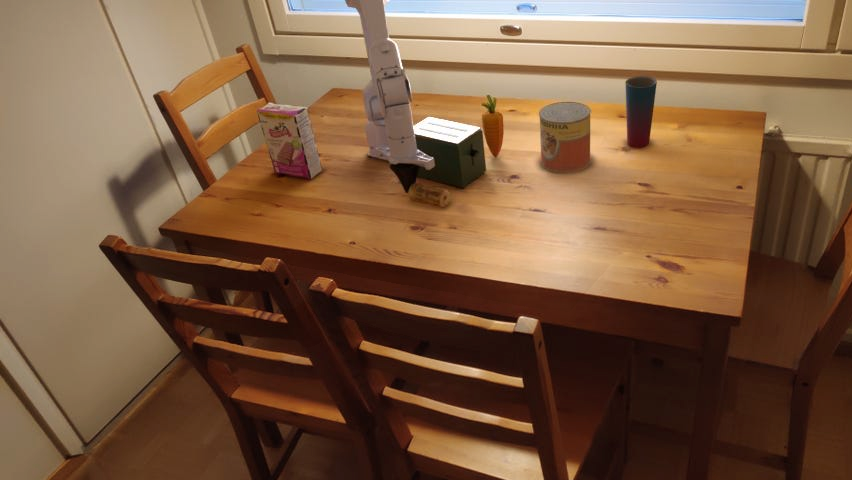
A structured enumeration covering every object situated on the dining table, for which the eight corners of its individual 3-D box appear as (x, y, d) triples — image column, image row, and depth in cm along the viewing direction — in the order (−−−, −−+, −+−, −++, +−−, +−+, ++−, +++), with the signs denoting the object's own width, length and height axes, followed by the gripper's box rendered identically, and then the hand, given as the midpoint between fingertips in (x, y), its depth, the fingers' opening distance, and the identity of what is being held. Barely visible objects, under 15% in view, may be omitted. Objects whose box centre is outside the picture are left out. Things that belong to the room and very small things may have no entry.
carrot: (504, 161, 160) (499, 100, 151) (483, 161, 161) (477, 100, 152) (507, 152, 164) (503, 91, 155) (487, 152, 165) (481, 92, 156)
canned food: (530, 161, 158) (528, 112, 152) (566, 145, 164) (565, 97, 157) (564, 177, 151) (563, 126, 144) (600, 160, 156) (601, 110, 149)
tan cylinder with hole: (451, 201, 147) (449, 184, 145) (441, 210, 144) (439, 194, 142) (419, 195, 150) (416, 178, 148) (408, 204, 148) (405, 187, 145)
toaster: (410, 176, 158) (403, 131, 152) (434, 160, 164) (428, 116, 157) (467, 191, 150) (462, 144, 143) (490, 173, 156) (486, 127, 149)
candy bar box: (273, 174, 165) (254, 110, 156) (286, 165, 169) (268, 101, 159) (311, 180, 161) (294, 114, 151) (323, 170, 164) (307, 105, 155)
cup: (620, 148, 160) (622, 86, 151) (626, 136, 165) (629, 75, 156) (650, 151, 157) (653, 88, 149) (655, 138, 162) (659, 76, 154)
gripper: (361, 135, 142) (373, 192, 150) (415, 148, 135) (424, 207, 143) (384, 122, 147) (394, 178, 155) (437, 133, 140) (445, 192, 147)
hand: (410, 191), depth 149 cm, fingers closed
